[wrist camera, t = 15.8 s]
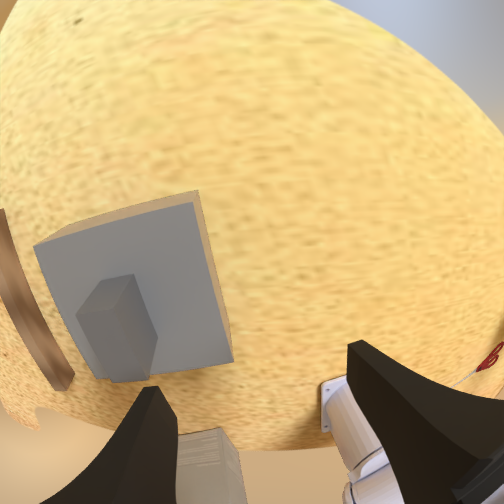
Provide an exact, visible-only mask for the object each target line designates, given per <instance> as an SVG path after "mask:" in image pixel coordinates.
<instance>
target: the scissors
mask: <svg viewBox="0 0 504 504" xmlns="http://www.w3.org/2000/svg"><path fill="white" fill-rule="evenodd" d="M500 345H501V347H500V348H499V350H498V351H496V349H497V348H498V347H499V346H500ZM503 345H504V342H503V341H502V342H501V343H500V344H499V345H497V347H496V348H495V349H494V350H493V351H492V352H491V353H490V354H489V356H488V357H487V358H486V359H485V360H484V361H483V362H482V363H481V364H480V365H479V366H478V367H477V368H476V369H475V370H474V371H473V372H472V373H470V374H469V375H468V376H466V377H465V378H464V379H466V378H467V377H469V376H470V375H472V374H473V373H475V372H479V371H481V370H484V369H487V368H489V367H491V366H492V365H493V364H495V362H496V361H497V359H498V357H499V355H496V354H497V353H498V352H499V351H500V350H501V349H502V347H503ZM495 351H496V352H495ZM494 352H495V353H494ZM493 353H494V354H493ZM495 355H496V356H495ZM493 356H495V357H493ZM492 357H493V358H492ZM491 358H492V359H491ZM495 358H496V360H495V361H494V362H493V363H492V364H490V363H491V362H492V361H493V360H494V359H495ZM490 359H491V360H490ZM489 360H490V361H489ZM488 361H489V362H488ZM489 364H490V365H489ZM488 365H489V366H488ZM464 379H462V380H461V381H463V380H464ZM461 381H459V382H458V383H460V382H461ZM458 383H457V384H458ZM457 384H455V385H457ZM455 385H454V386H455ZM454 386H452V387H454ZM452 387H451V388H452Z"/></svg>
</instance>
